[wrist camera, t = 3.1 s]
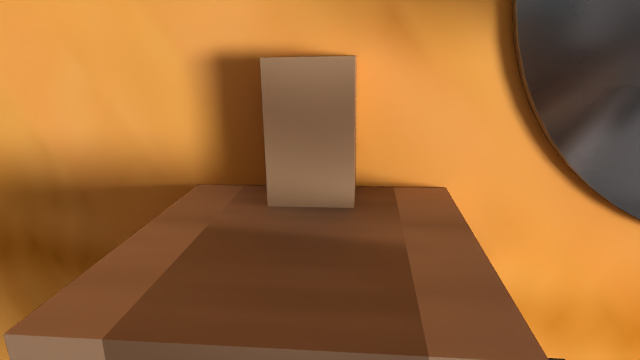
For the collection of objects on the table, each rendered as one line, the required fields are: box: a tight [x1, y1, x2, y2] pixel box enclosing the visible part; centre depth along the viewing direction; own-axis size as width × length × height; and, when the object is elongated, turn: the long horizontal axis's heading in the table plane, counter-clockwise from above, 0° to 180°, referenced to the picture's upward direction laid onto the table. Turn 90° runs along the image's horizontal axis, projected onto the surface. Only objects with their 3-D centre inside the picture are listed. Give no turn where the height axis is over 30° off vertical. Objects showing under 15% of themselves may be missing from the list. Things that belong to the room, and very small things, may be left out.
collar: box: [4, 56, 548, 360], centre depth 11 cm, size 12×8×8 cm, turn 1°
